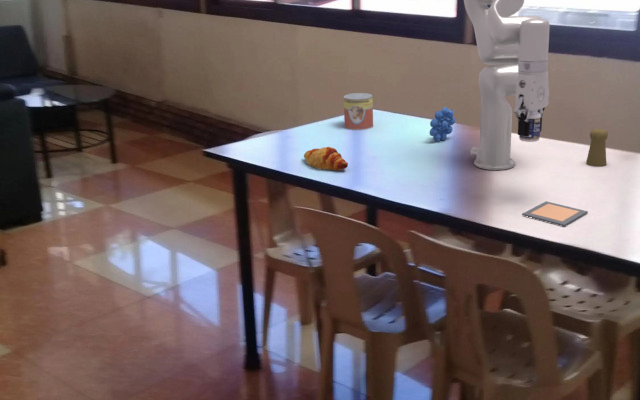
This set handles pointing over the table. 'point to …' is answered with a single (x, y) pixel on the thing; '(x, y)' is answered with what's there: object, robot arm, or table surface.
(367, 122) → the canned food
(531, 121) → the pill bottle
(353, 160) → the table surface
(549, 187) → the table surface
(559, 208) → the coaster
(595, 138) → the cork
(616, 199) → the table surface
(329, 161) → the croissant
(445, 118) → the grapes
